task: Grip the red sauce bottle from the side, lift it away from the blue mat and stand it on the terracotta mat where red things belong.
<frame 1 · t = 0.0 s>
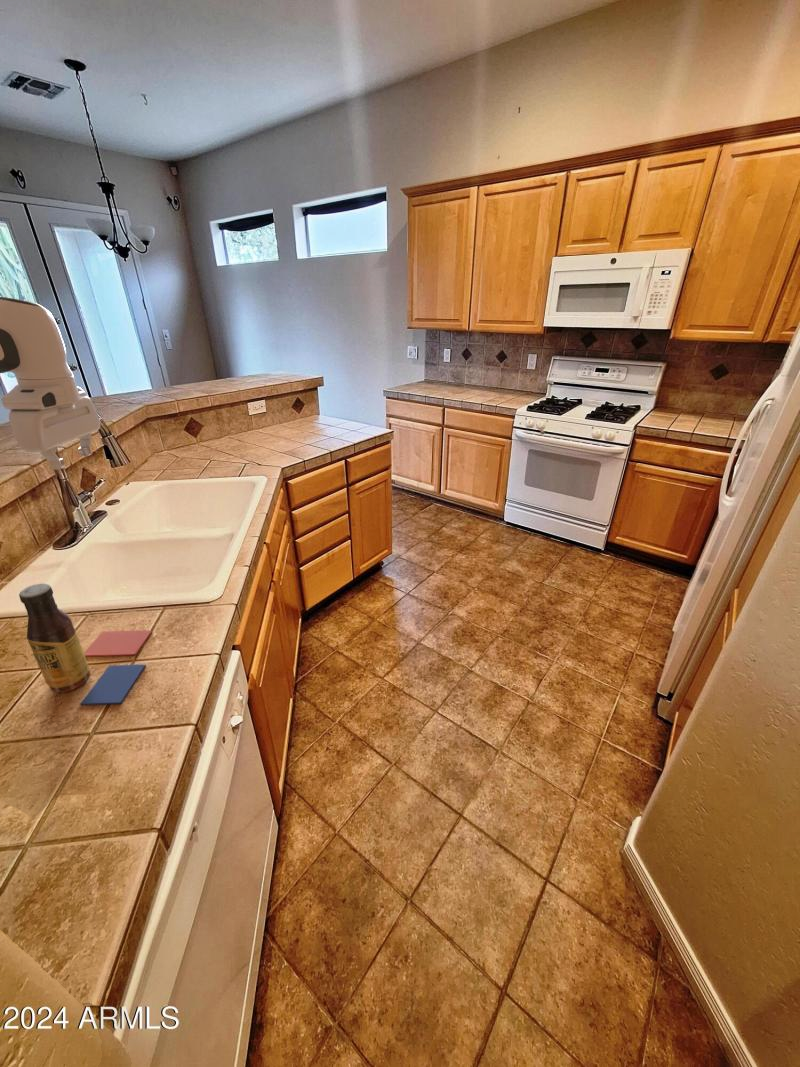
hand: (73, 461, 89), 32 cm above the counter, tool pointing down, fingers open, 8 cm apart
sauce bottle: (72, 682, 77), on the counter
blue mat: (115, 684, 76), on the counter
terracotta mat: (118, 643, 86), on the counter
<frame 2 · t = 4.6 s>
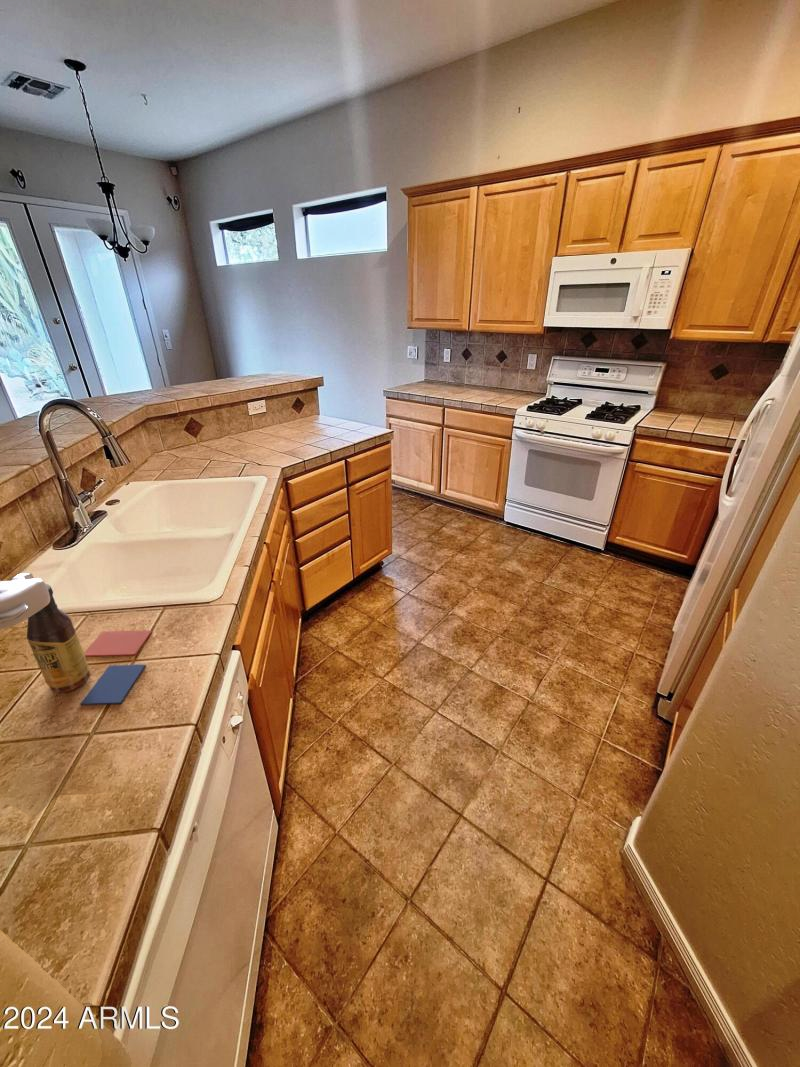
nothing on the counter moved.
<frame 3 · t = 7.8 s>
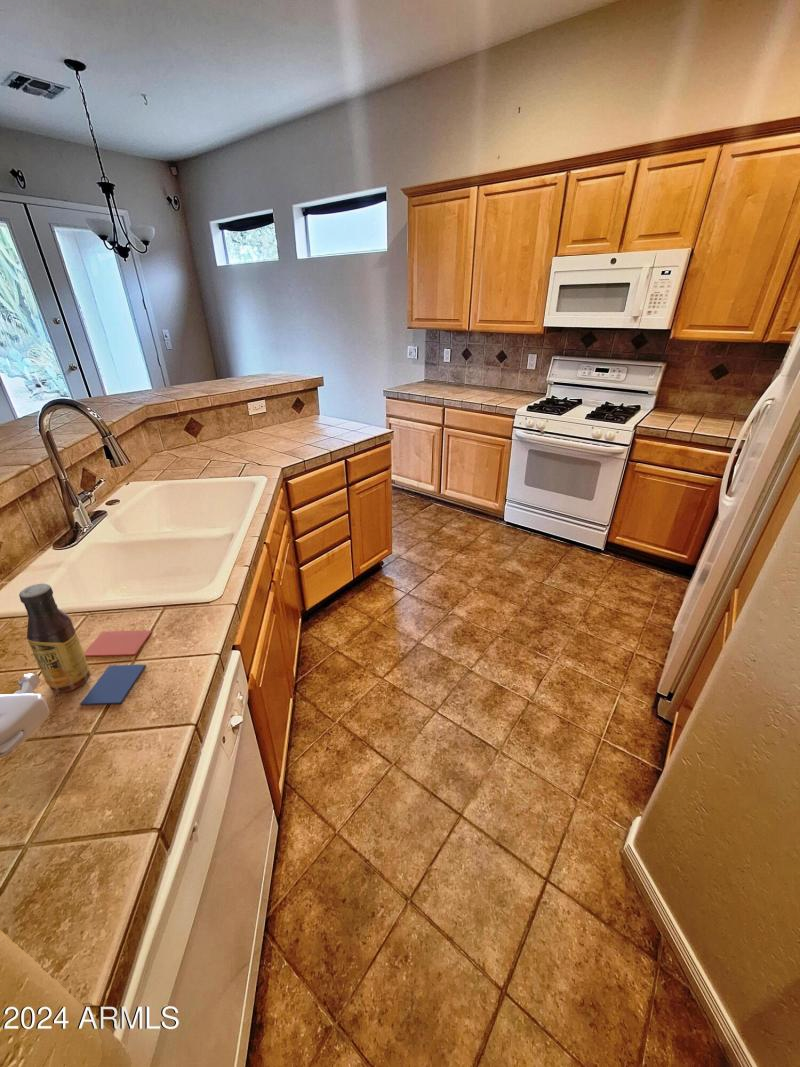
nothing on the counter moved.
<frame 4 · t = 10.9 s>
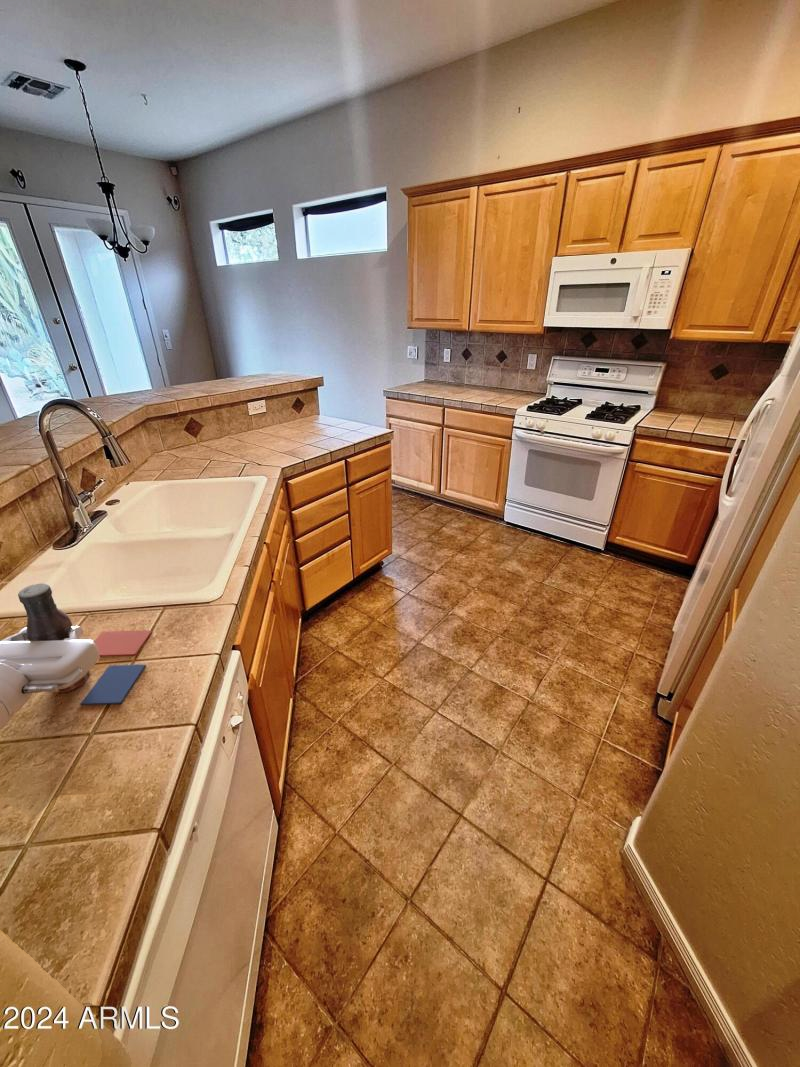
hand: (54, 629, 73), 11 cm above the counter, tool horizontal, fingers closed on sauce bottle, 6 cm apart
sauce bottle: (72, 682, 77), on the counter, touching gripper
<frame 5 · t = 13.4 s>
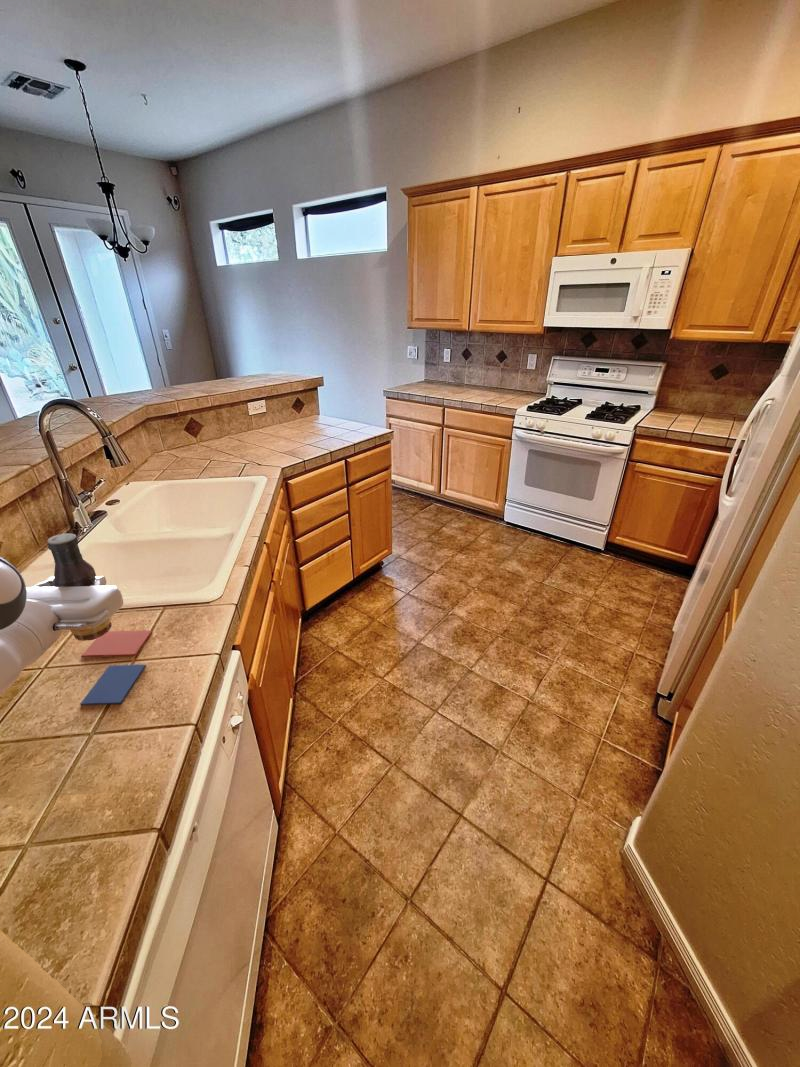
hand: (79, 579, 76), 17 cm above the counter, tool horizontal, fingers closed on sauce bottle, 6 cm apart
sauce bottle: (94, 633, 80), point 6 cm above the counter, touching gripper
when the fingers open (11 cm above the counter, at t = 16.1 s): sauce bottle stays where it is, resting on terracotta mat.
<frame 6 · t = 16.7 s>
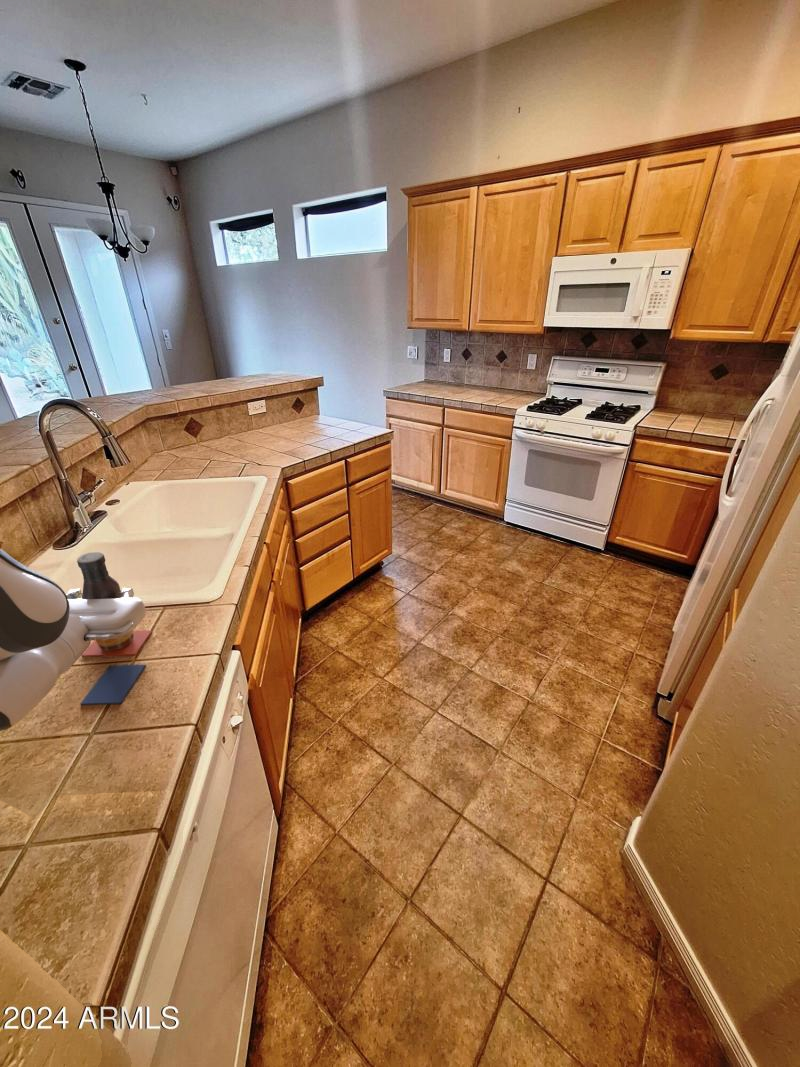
hand: (103, 591, 81), 12 cm above the counter, tool horizontal, fingers open, 8 cm apart
sauce bottle: (118, 643, 86), resting on terracotta mat
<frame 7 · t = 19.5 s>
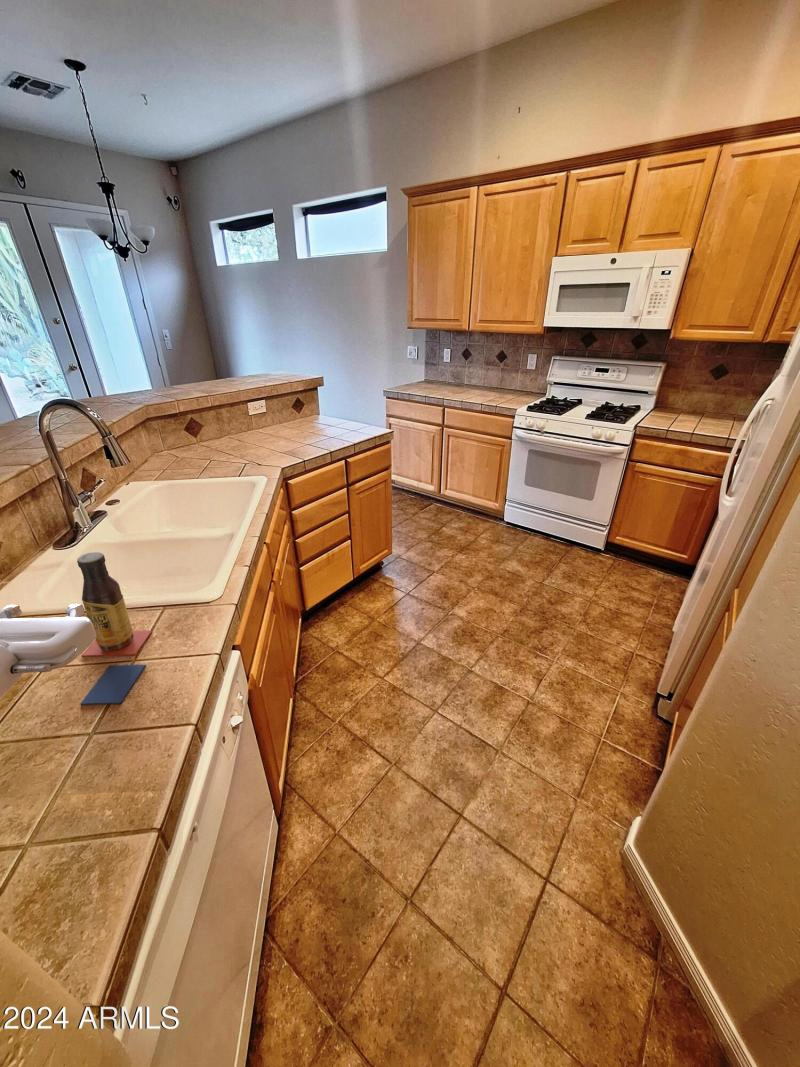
hand: (47, 608, 67), 18 cm above the counter, tool horizontal, fingers open, 8 cm apart
nothing on the counter moved.
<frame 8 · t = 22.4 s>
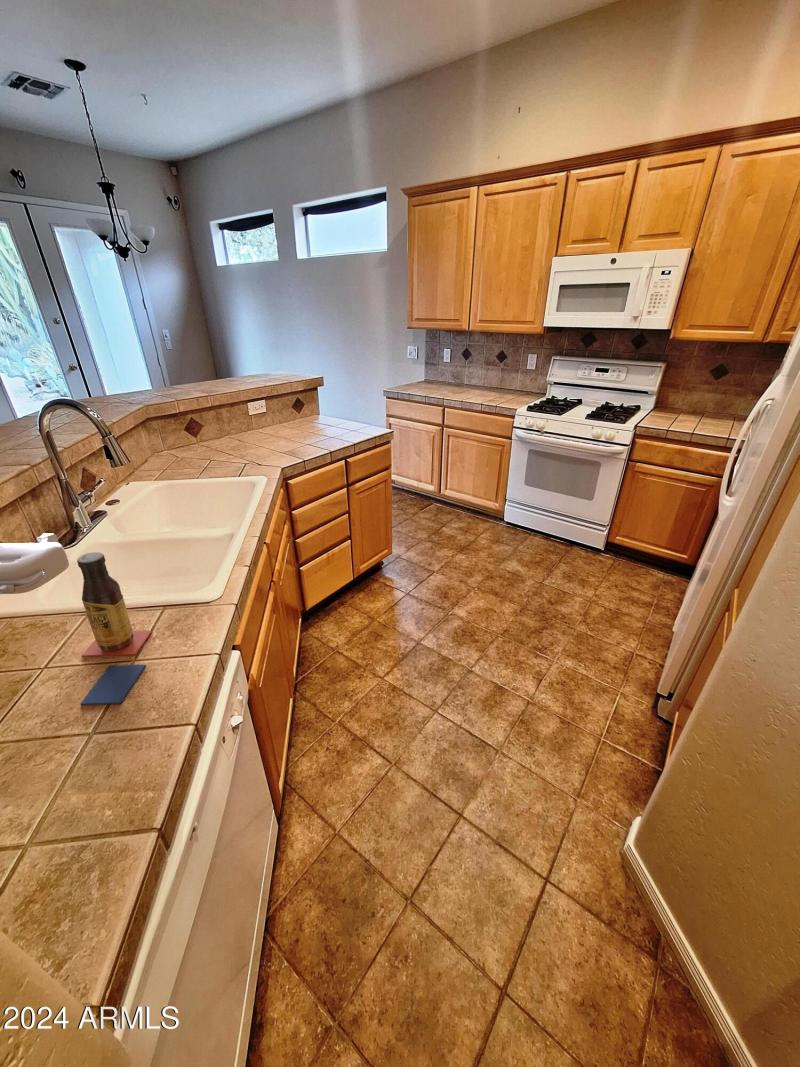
hand: (17, 538, 62), 30 cm above the counter, tool horizontal, fingers open, 8 cm apart
nothing on the counter moved.
at the end: sauce bottle 0.1 cm off-centre on the terracotta mat, point 0.2 cm above the terracotta mat's base; sauce bottle tilted 0°; the gripper is holding nothing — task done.
